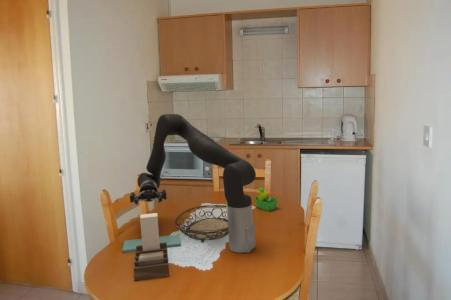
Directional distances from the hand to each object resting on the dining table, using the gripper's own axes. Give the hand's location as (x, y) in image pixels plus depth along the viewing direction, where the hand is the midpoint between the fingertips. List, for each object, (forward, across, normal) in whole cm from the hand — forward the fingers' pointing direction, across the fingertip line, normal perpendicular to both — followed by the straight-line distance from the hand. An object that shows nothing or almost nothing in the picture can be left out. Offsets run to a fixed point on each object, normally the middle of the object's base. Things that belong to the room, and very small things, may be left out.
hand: (148, 201), depth 145 cm
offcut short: (+16, 0, +18) cm, 24 cm away
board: (-1, 0, +19) cm, 19 cm away
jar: (-18, +38, +19) cm, 47 cm away
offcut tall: (+25, 0, +18) cm, 30 cm away
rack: (+18, 0, +19) cm, 26 cm away
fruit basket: (-34, +57, +19) cm, 69 cm away
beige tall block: (+12, 0, +18) cm, 21 cm away
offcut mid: (+20, 0, +18) cm, 27 cm away
